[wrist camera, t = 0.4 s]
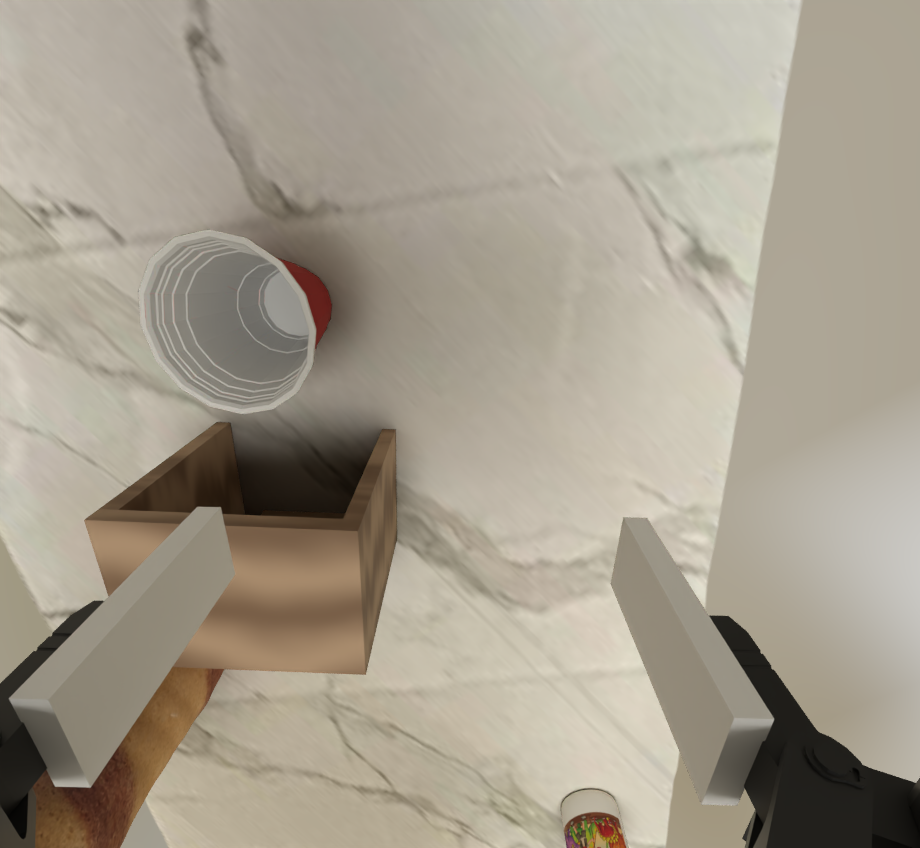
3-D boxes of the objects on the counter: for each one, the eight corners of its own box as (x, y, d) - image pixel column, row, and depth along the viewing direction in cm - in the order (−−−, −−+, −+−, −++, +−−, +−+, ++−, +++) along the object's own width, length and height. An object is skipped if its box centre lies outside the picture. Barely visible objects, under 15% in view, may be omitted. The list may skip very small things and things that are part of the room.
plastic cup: (217, 231, 36) (104, 228, 25) (354, 232, 36) (304, 229, 24) (241, 366, 40) (153, 415, 29) (364, 367, 40) (325, 417, 29)
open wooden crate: (217, 422, 42) (84, 519, 27) (395, 429, 42) (357, 531, 27) (236, 531, 46) (130, 665, 32) (397, 538, 46) (365, 674, 32)
